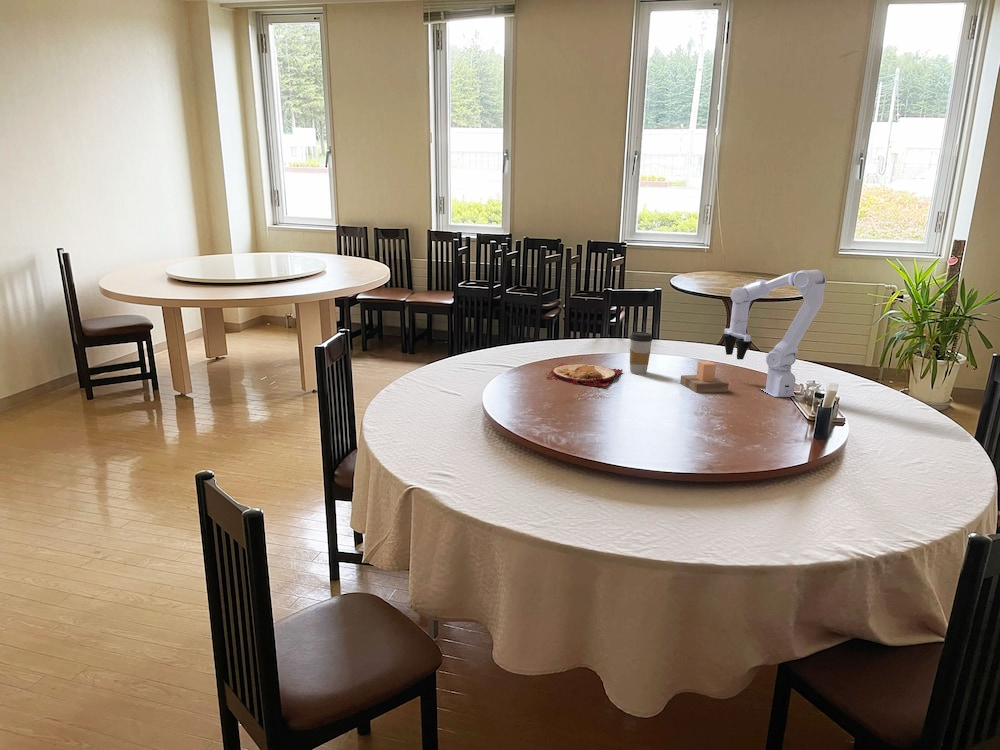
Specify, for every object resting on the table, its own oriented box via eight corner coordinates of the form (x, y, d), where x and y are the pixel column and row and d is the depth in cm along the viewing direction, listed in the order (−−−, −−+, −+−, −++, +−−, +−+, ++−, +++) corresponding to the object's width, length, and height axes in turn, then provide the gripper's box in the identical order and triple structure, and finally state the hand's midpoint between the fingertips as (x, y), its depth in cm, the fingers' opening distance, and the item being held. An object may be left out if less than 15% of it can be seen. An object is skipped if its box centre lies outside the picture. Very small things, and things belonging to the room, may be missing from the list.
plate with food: (622, 374, 268) (623, 365, 268) (605, 389, 244) (606, 379, 243) (560, 367, 277) (561, 358, 276) (538, 380, 253) (539, 371, 252)
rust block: (714, 380, 249) (716, 364, 247) (702, 381, 248) (704, 364, 246) (707, 377, 253) (709, 361, 251) (696, 377, 252) (698, 361, 250)
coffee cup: (651, 375, 265) (654, 336, 262) (628, 374, 265) (632, 335, 262) (647, 370, 273) (650, 332, 270) (625, 369, 273) (628, 331, 270)
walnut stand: (727, 391, 247) (728, 383, 246) (696, 392, 244) (697, 384, 243) (710, 382, 258) (711, 374, 257) (680, 383, 255) (681, 375, 254)
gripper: (718, 316, 261) (714, 352, 264) (739, 323, 247) (735, 361, 251) (736, 316, 263) (731, 352, 266) (757, 323, 249) (752, 361, 252)
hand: (734, 356), depth 258 cm, fingers open, 7 cm apart
